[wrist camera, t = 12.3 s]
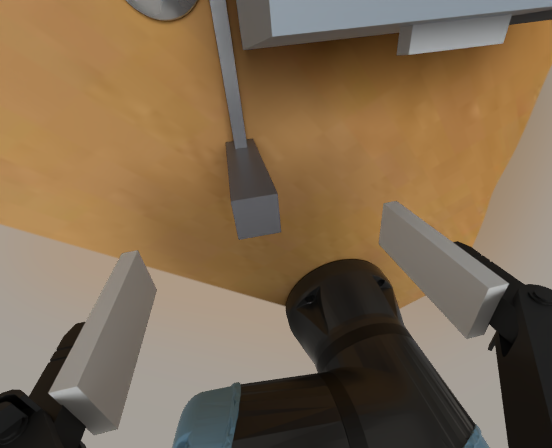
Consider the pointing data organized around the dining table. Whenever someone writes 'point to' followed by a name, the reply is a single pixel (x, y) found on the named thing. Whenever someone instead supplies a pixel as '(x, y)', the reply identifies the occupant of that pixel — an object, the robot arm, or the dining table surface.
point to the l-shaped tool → (243, 149)
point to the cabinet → (386, 21)
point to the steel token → (163, 8)
